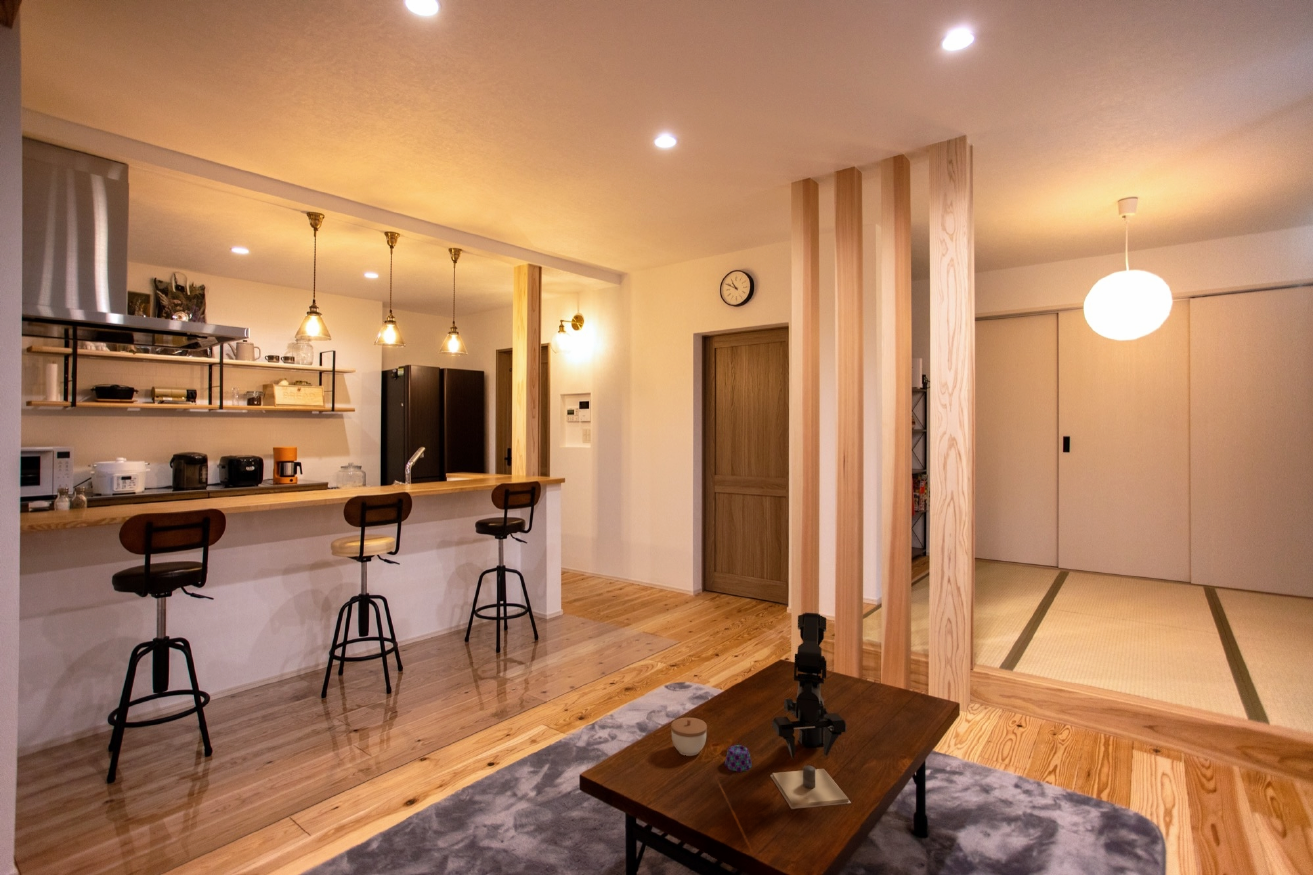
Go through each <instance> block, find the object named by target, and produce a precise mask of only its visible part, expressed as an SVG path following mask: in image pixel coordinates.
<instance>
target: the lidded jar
mask: <svg viewBox="0 0 1313 875" xmlns="http://www.w3.org/2000/svg"><path fill="white" fill-rule="evenodd" d="M670 729H671V731H670V732H671V740H672V744H673V747H675V749H676V750H677V751H678V753H679V754H681V755H682V756H685V755H686V757H693V756H697V755H698V754H699V753H700V751H702V749H703V748H704V747H705V744H706V740H707V733H708V732H707V730H708V725H707V723H706V722H705V721H704V720H702V719H701V718H700V719H699V718H696V717H681V718H678V719H675V720H673V721H672V722H671V724H670Z"/></svg>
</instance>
